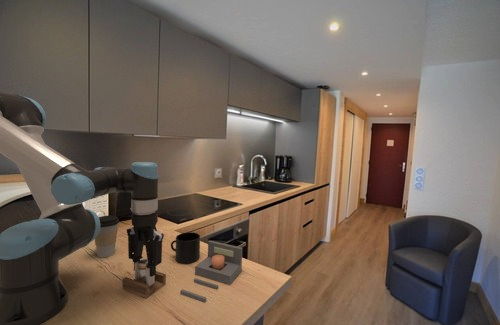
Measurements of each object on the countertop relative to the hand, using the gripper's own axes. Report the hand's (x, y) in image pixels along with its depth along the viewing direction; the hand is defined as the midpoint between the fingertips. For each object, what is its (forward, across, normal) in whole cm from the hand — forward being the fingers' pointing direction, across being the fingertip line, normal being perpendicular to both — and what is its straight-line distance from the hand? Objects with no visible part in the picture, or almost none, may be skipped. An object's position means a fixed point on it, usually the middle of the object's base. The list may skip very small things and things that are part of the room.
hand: (144, 282), depth 74 cm
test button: (-1, -17, -17) cm, 24 cm away
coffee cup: (+2, +31, -9) cm, 32 cm away
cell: (0, 0, 0) cm, 0 cm away
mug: (+2, +1, -21) cm, 21 cm away
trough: (+1, 0, 0) cm, 1 cm away
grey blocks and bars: (+1, -17, -12) cm, 21 cm away
